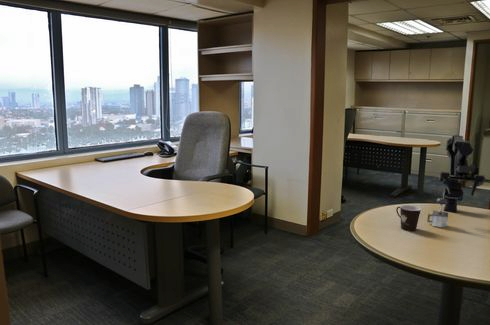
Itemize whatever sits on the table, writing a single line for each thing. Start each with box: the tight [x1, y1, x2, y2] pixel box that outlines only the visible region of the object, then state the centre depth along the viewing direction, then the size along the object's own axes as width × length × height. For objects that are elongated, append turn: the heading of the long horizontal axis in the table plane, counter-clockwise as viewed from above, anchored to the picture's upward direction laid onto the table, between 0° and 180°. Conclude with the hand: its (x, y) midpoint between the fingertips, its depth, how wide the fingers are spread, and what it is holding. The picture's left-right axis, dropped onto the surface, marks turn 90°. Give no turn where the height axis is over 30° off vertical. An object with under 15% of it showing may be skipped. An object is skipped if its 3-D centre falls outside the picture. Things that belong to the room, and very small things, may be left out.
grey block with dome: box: [426, 210, 449, 229], centre depth 187 cm, size 7×8×6 cm
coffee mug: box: [395, 204, 422, 232], centre depth 182 cm, size 12×9×10 cm
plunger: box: [436, 197, 447, 214], centre depth 185 cm, size 5×5×8 cm
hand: (460, 195), depth 185 cm, fingers open, 9 cm apart
